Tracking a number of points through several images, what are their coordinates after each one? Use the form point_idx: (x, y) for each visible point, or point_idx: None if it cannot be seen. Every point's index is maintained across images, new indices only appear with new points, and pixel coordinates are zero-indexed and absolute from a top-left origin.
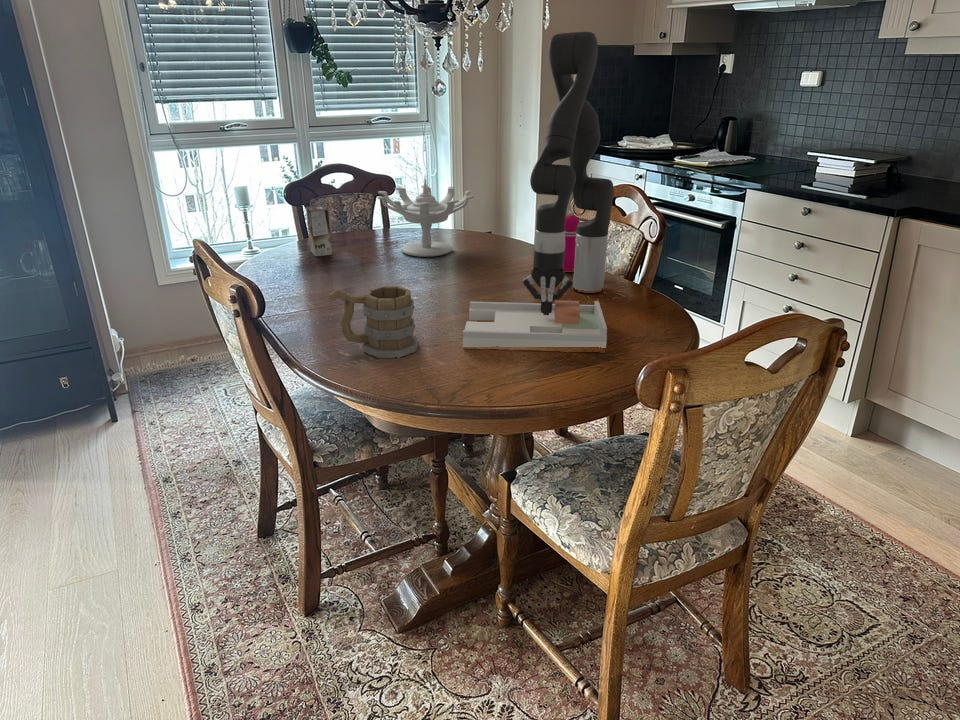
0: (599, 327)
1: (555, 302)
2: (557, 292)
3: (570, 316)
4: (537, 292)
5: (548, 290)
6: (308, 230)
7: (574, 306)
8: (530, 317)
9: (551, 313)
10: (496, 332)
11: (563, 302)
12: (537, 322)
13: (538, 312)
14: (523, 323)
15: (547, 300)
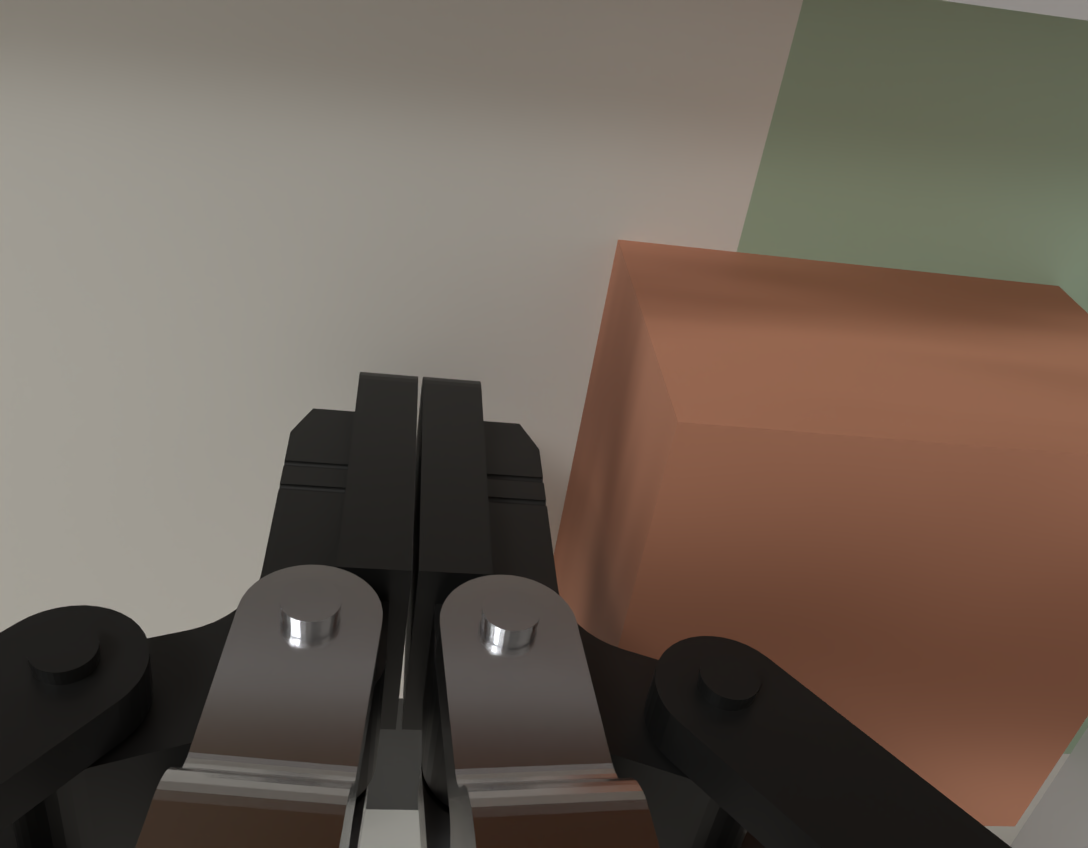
0: (1073, 822)
1: (643, 545)
2: (736, 789)
3: None
4: (80, 788)
5: (453, 819)
6: None
7: (968, 745)
8: (107, 371)
9: (571, 153)
10: None
11: (837, 556)
12: (251, 580)
13: (275, 81)
14: (10, 617)
15: (427, 646)
